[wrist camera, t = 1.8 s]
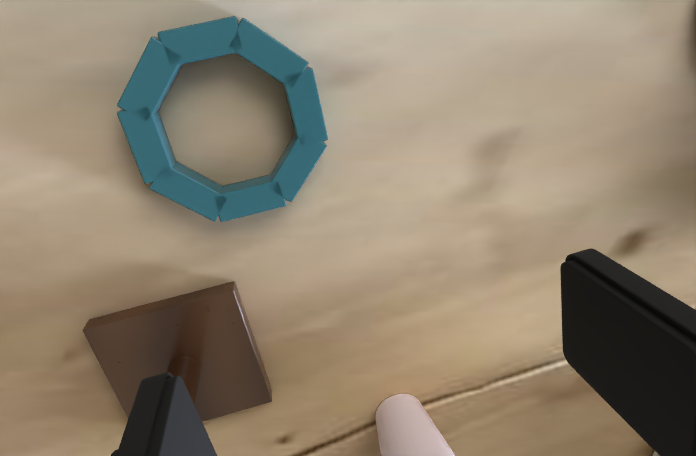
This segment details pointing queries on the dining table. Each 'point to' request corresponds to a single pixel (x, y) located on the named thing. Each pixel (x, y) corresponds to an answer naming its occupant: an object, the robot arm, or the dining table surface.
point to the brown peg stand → (185, 350)
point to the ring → (153, 142)
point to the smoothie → (408, 429)
